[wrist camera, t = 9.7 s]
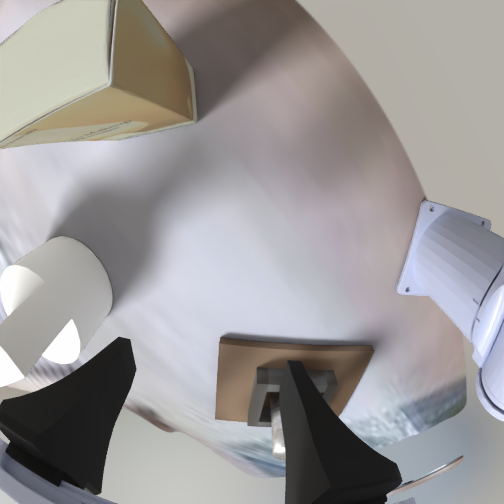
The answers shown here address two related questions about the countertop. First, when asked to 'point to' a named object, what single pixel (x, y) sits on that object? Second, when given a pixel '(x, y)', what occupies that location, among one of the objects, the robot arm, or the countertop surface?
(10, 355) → the cylinder with rectangular tab
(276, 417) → the clear glass cylinder
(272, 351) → the dock
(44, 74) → the skincare box
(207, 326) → the countertop surface
